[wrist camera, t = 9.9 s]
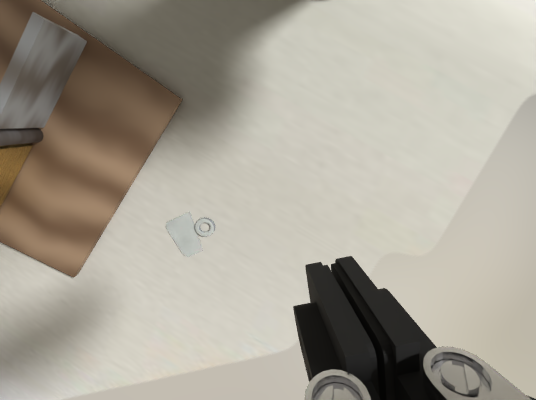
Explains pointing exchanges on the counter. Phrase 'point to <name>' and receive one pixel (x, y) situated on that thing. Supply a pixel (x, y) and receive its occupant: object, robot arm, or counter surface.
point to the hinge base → (70, 132)
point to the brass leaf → (11, 165)
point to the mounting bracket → (188, 233)
